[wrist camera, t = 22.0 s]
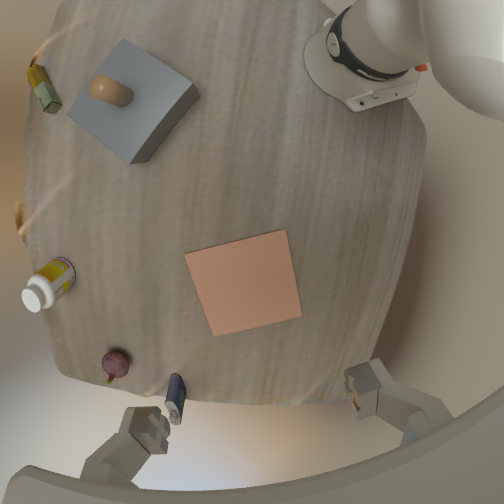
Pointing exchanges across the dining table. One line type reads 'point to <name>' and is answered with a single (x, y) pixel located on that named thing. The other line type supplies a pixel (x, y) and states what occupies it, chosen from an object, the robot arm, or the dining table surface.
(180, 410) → the flask
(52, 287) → the supplement bottle
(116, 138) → the cover
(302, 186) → the dining table surface
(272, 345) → the dining table surface
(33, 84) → the medication box
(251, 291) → the mat
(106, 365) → the vegetable
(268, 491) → the robot arm
